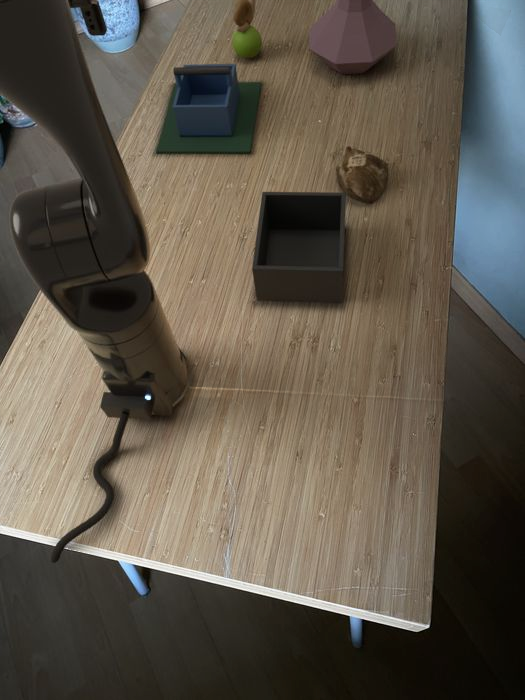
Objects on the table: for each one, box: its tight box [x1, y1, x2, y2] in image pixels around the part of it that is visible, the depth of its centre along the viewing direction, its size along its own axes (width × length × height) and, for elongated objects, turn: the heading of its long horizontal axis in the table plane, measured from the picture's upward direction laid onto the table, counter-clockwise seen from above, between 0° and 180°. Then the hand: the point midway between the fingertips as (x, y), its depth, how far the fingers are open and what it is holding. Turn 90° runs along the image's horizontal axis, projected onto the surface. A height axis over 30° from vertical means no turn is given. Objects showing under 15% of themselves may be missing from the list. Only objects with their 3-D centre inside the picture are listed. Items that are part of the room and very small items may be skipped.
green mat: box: [155, 81, 262, 155], centre depth 103 cm, size 18×16×1 cm
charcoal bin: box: [251, 191, 347, 304], centre depth 82 cm, size 14×12×8 cm
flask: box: [308, 0, 398, 75], centre depth 99 cm, size 16×16×20 cm
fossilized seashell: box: [335, 145, 390, 203], centre depth 90 cm, size 8×7×10 cm
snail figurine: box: [231, 0, 263, 59], centre depth 106 cm, size 5×6×12 cm
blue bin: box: [173, 63, 240, 137], centre depth 99 cm, size 11×10×9 cm
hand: (107, 14), depth 74 cm, fingers open, 8 cm apart
